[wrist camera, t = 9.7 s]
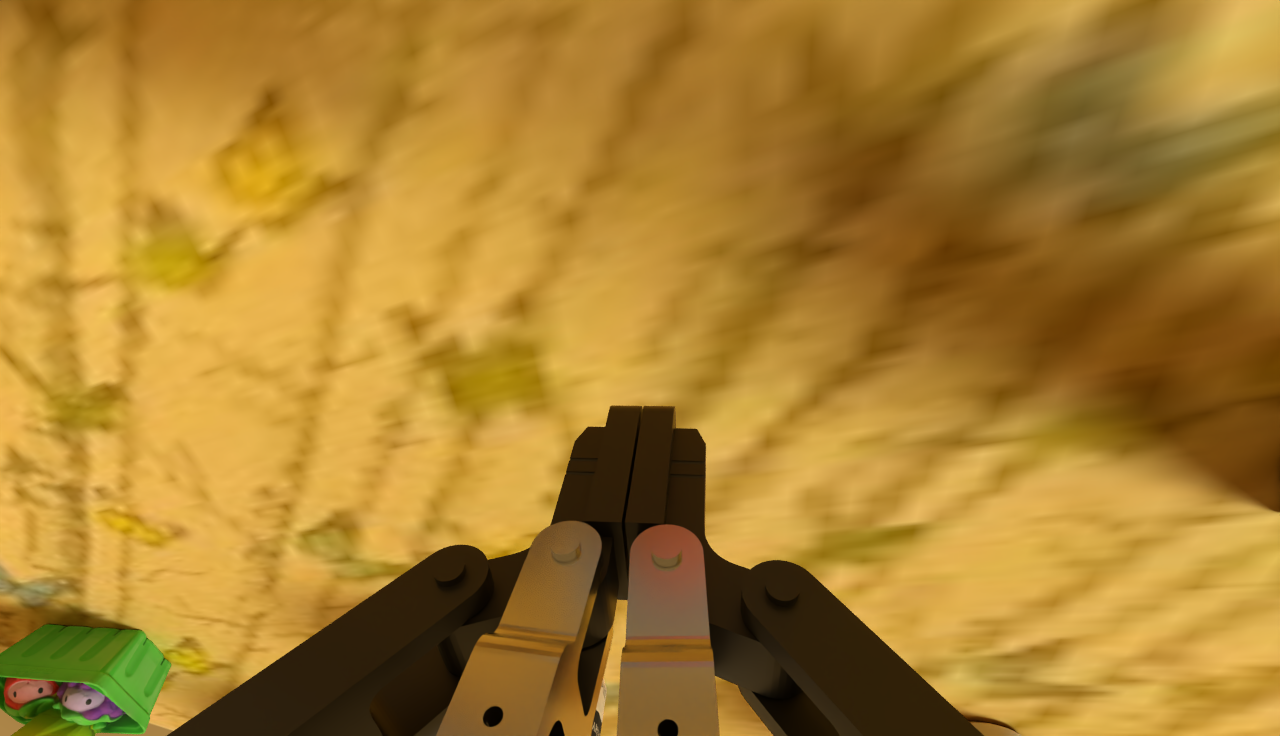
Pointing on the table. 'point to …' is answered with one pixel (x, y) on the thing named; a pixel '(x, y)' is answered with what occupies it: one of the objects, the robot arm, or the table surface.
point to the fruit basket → (81, 681)
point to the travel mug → (993, 729)
